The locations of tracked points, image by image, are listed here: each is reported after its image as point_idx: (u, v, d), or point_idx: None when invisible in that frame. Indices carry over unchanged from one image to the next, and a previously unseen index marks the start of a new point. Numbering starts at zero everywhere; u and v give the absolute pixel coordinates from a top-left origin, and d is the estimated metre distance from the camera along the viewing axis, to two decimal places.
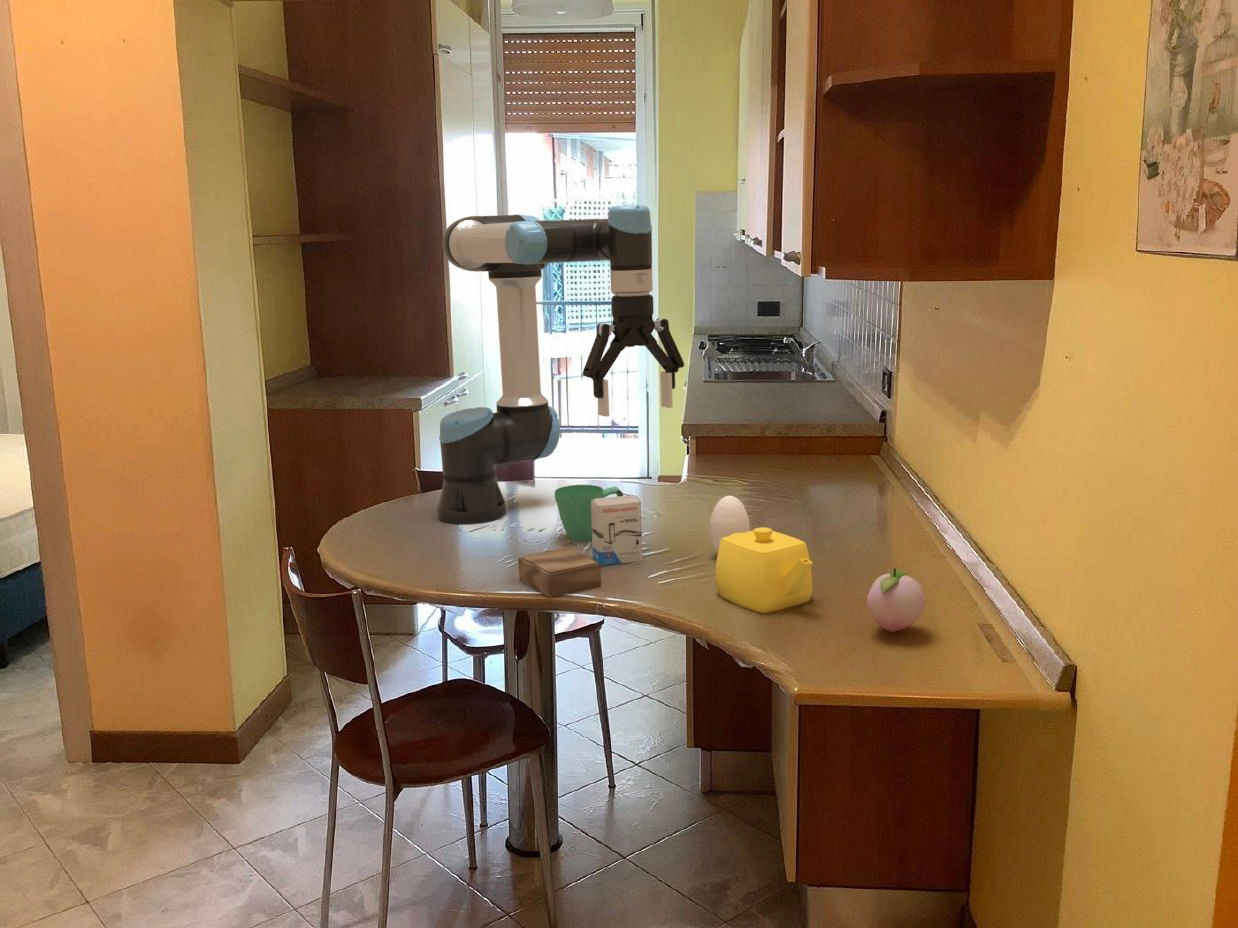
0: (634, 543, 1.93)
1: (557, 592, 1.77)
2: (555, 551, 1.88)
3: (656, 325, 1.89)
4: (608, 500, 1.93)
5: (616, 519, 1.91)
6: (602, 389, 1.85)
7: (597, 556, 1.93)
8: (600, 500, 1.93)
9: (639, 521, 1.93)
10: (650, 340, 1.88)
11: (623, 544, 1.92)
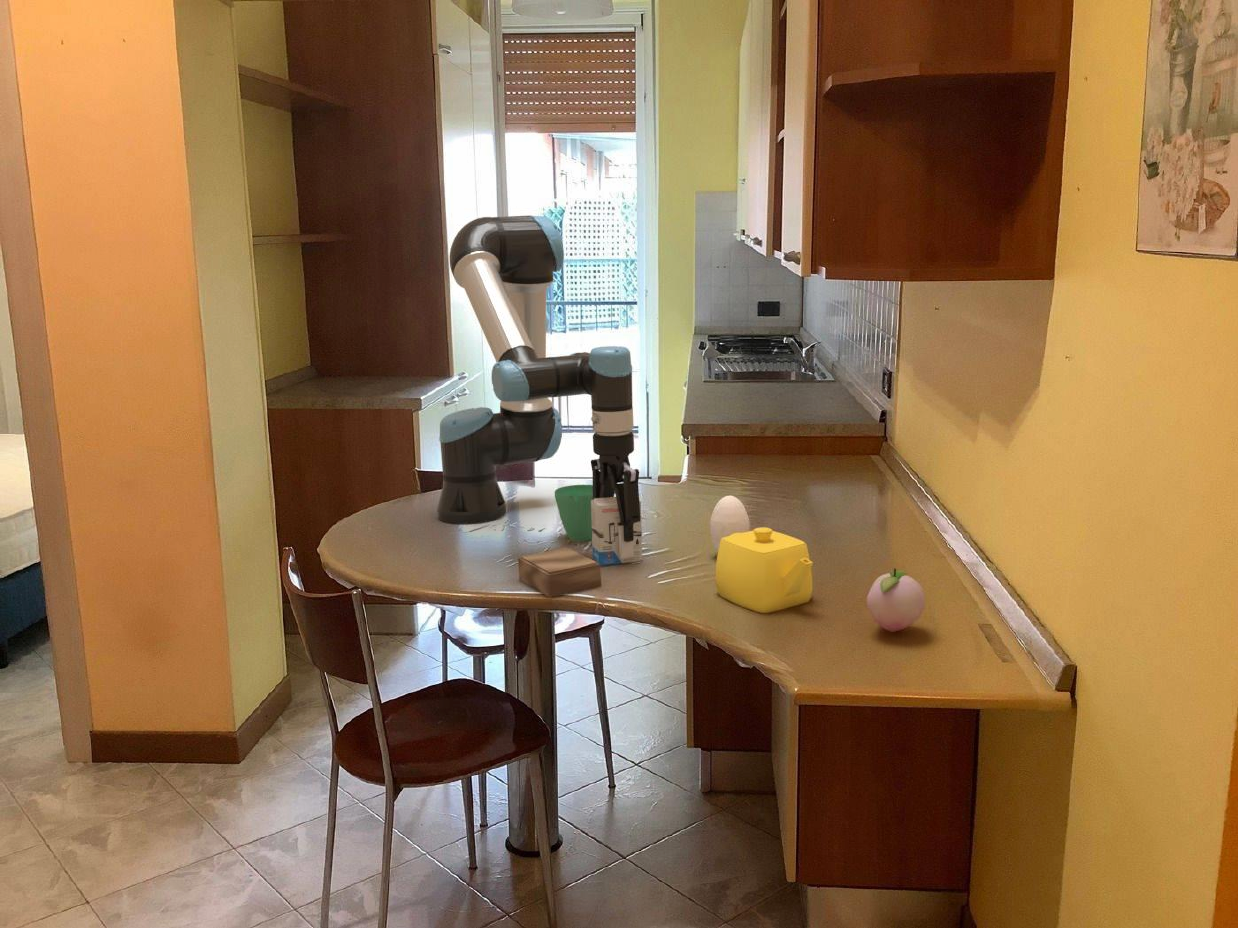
0: (634, 543, 1.93)
1: (557, 592, 1.77)
2: (555, 551, 1.88)
3: (625, 471, 1.88)
4: (608, 500, 1.93)
5: (616, 519, 1.91)
6: None
7: (597, 555, 1.93)
8: (600, 500, 1.93)
9: None
10: (611, 481, 1.90)
11: None
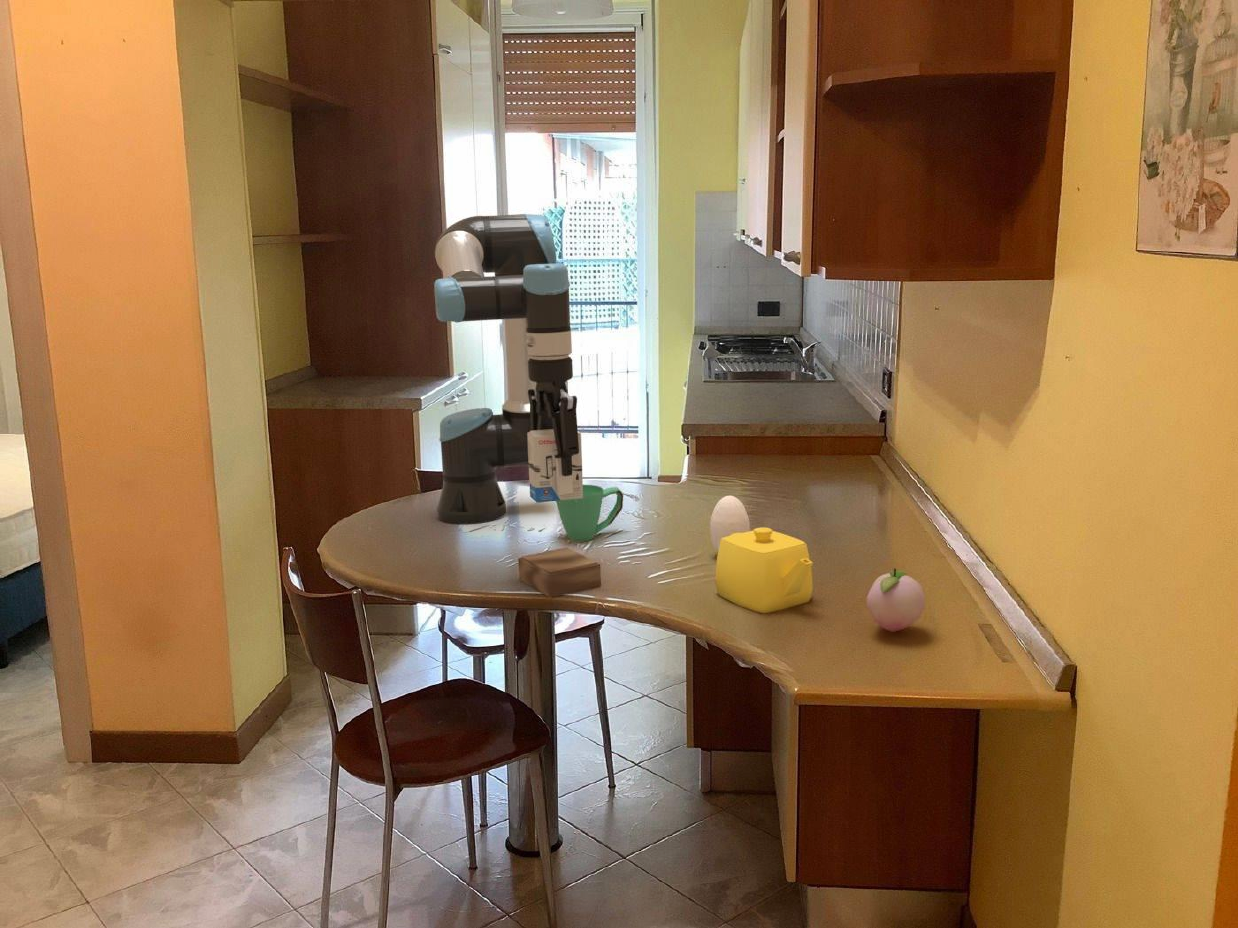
0: (574, 478, 1.78)
1: (557, 592, 1.77)
2: (555, 551, 1.88)
3: (562, 398, 1.73)
4: (545, 432, 1.78)
5: (553, 452, 1.76)
6: None
7: (533, 492, 1.78)
8: (537, 432, 1.78)
9: (579, 454, 1.78)
10: (548, 410, 1.75)
11: None
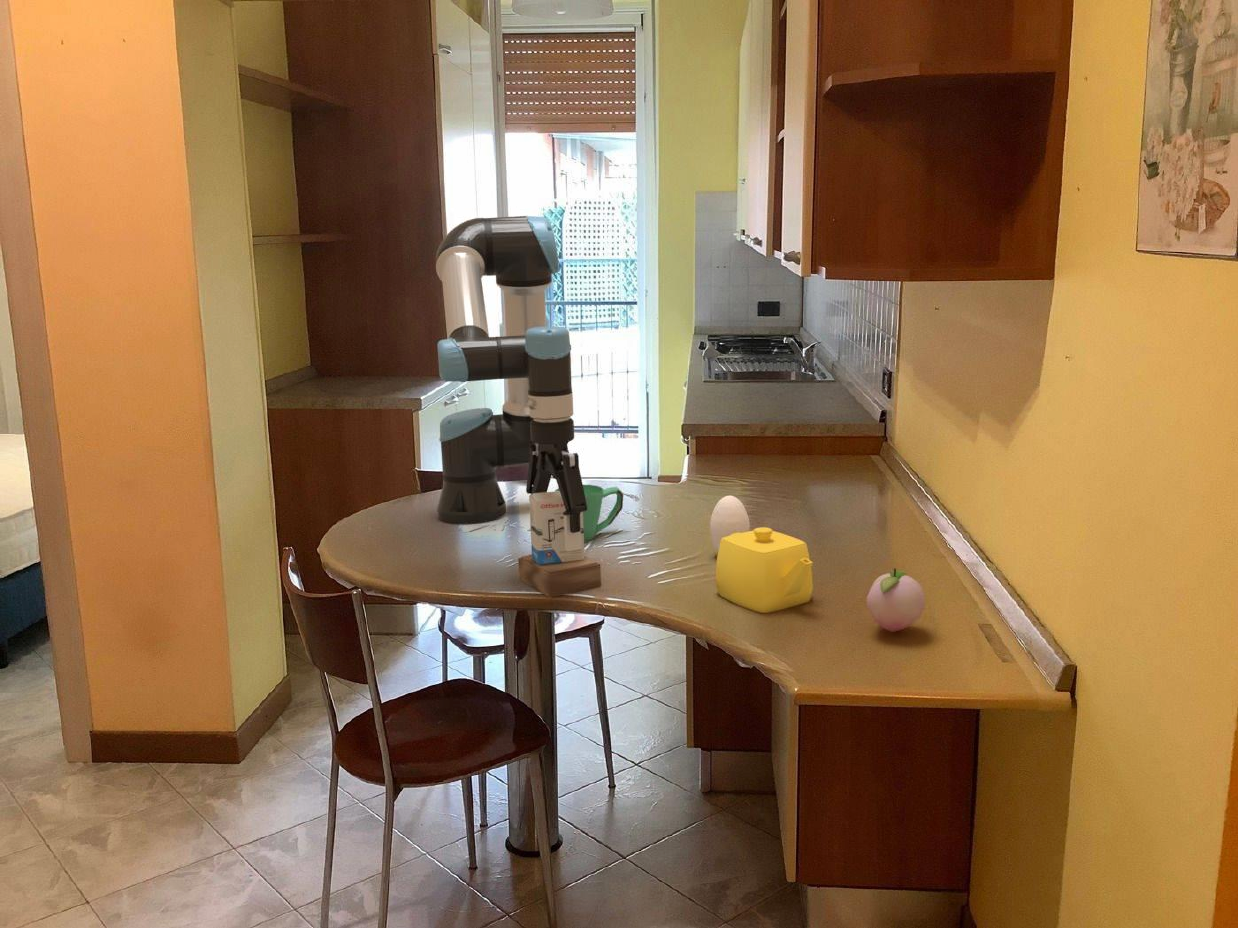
0: None
1: (557, 592, 1.77)
2: None
3: None
4: (547, 495, 1.80)
5: (555, 515, 1.79)
6: None
7: (536, 554, 1.80)
8: (539, 495, 1.80)
9: (580, 517, 1.80)
10: (551, 470, 1.77)
11: (563, 541, 1.80)
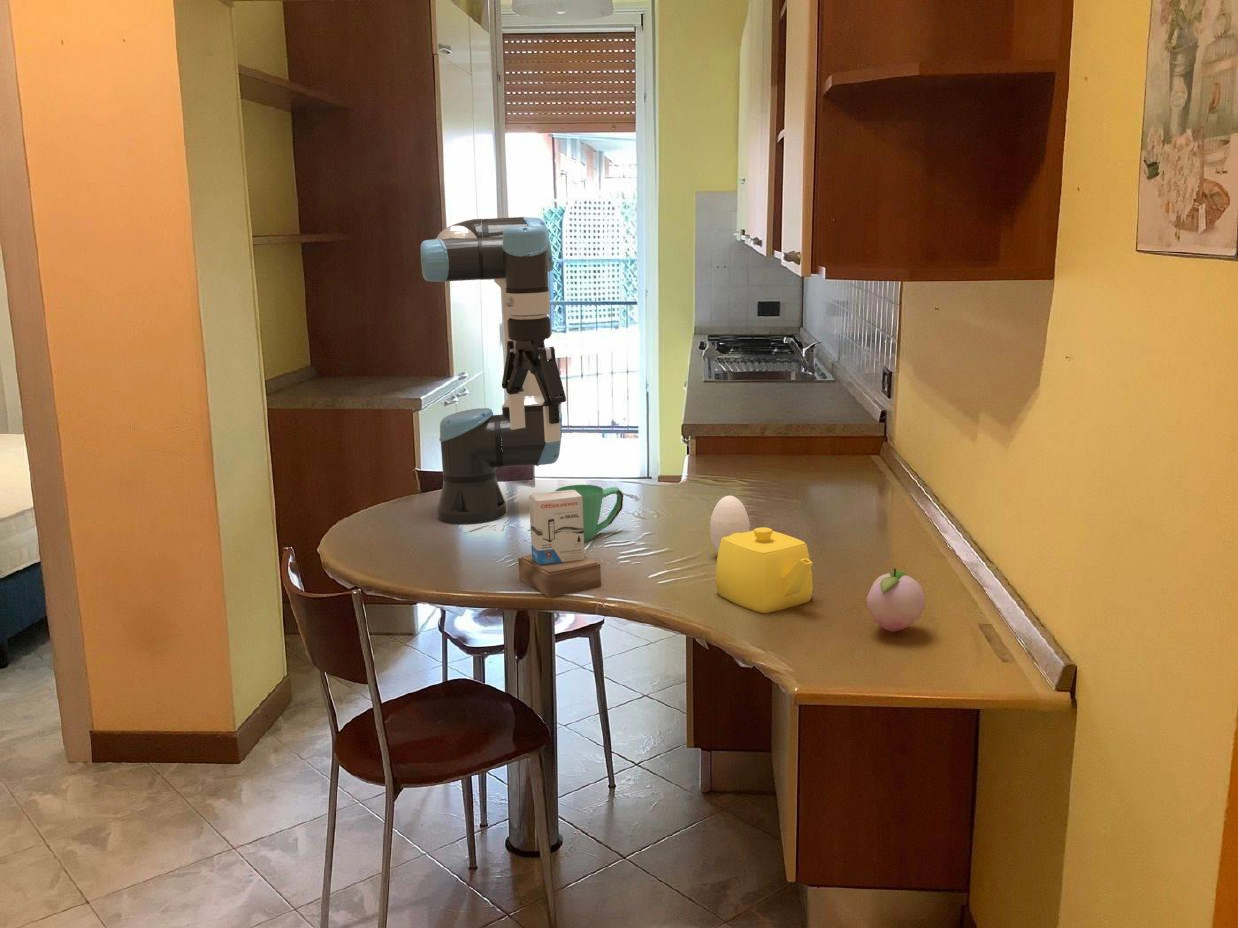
0: (575, 540, 1.81)
1: (557, 592, 1.77)
2: None
3: None
4: (547, 495, 1.80)
5: (555, 515, 1.79)
6: None
7: (536, 554, 1.80)
8: (539, 495, 1.80)
9: (580, 517, 1.80)
10: (529, 366, 1.81)
11: (563, 541, 1.80)
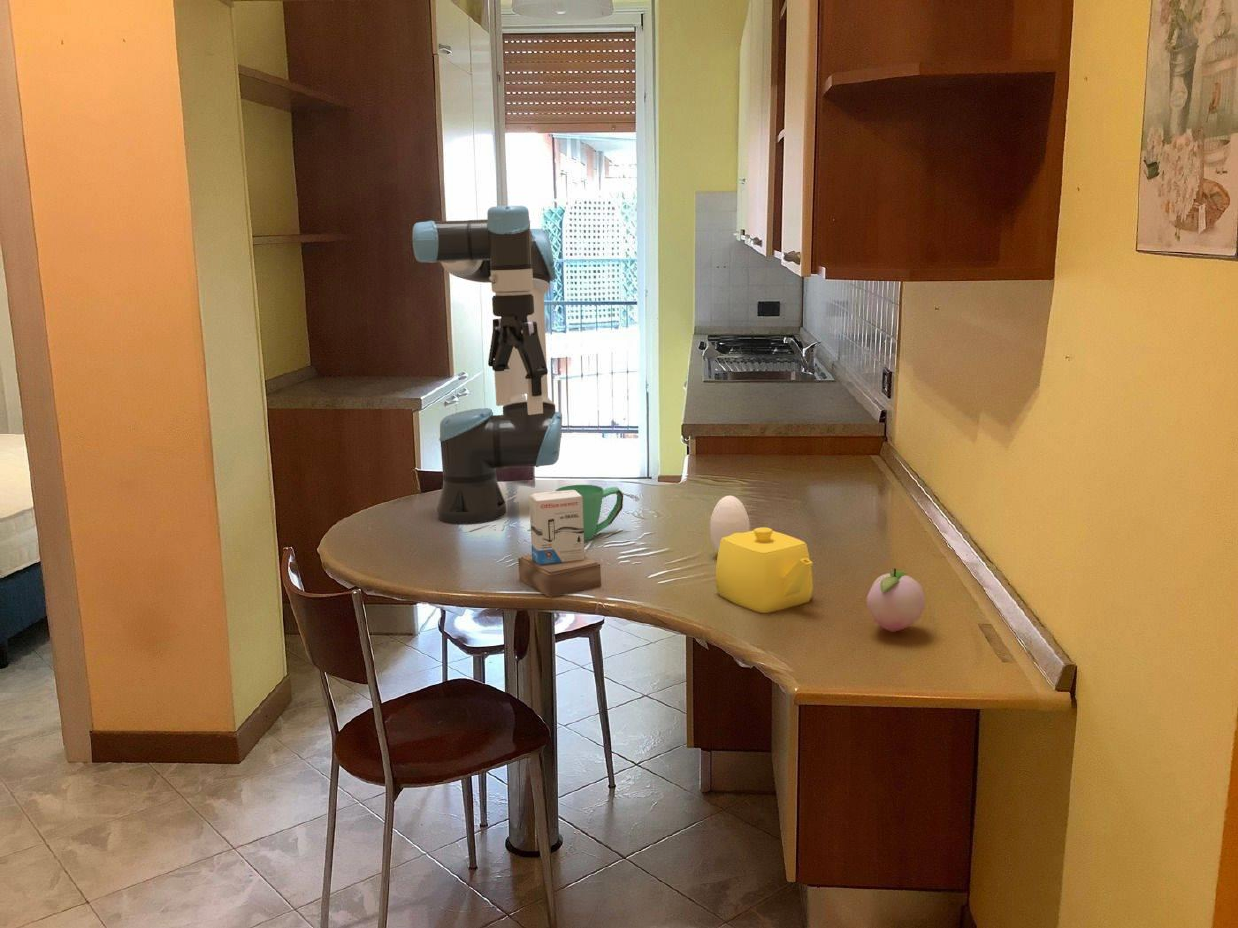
0: (575, 540, 1.81)
1: (557, 592, 1.77)
2: None
3: None
4: (547, 495, 1.80)
5: (555, 515, 1.79)
6: None
7: (536, 554, 1.80)
8: (539, 495, 1.80)
9: (580, 517, 1.80)
10: (512, 341, 1.87)
11: (563, 541, 1.80)
